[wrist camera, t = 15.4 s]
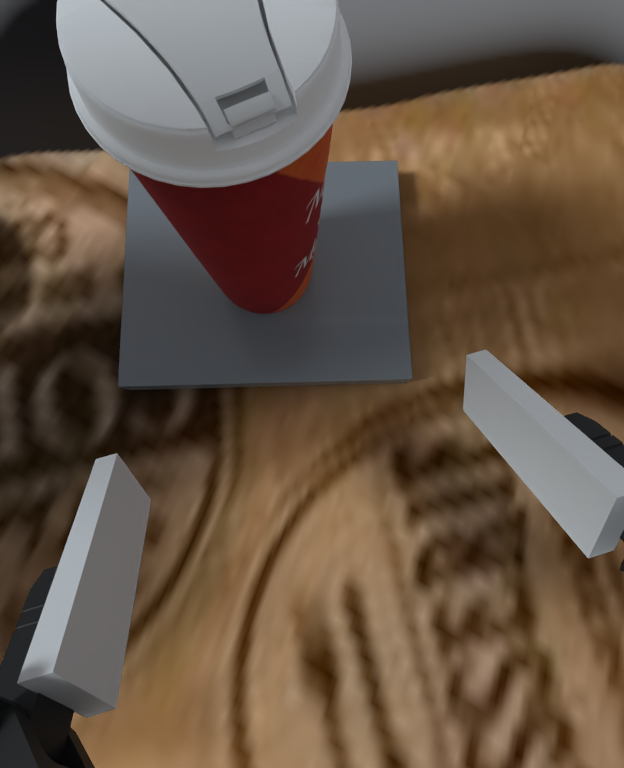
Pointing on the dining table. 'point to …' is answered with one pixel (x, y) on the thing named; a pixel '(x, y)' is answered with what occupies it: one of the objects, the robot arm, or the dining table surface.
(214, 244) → the coffee cup
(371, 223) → the slate board
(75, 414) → the dining table surface
